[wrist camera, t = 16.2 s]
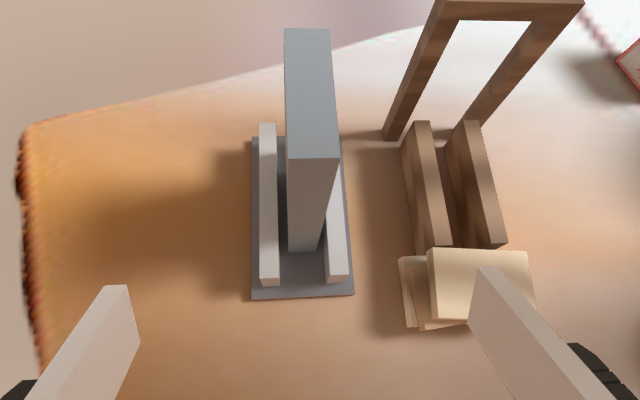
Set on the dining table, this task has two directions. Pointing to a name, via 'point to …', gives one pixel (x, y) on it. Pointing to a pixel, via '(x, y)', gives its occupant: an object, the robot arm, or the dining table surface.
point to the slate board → (309, 134)
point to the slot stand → (272, 232)
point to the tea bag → (631, 63)
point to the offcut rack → (462, 164)
